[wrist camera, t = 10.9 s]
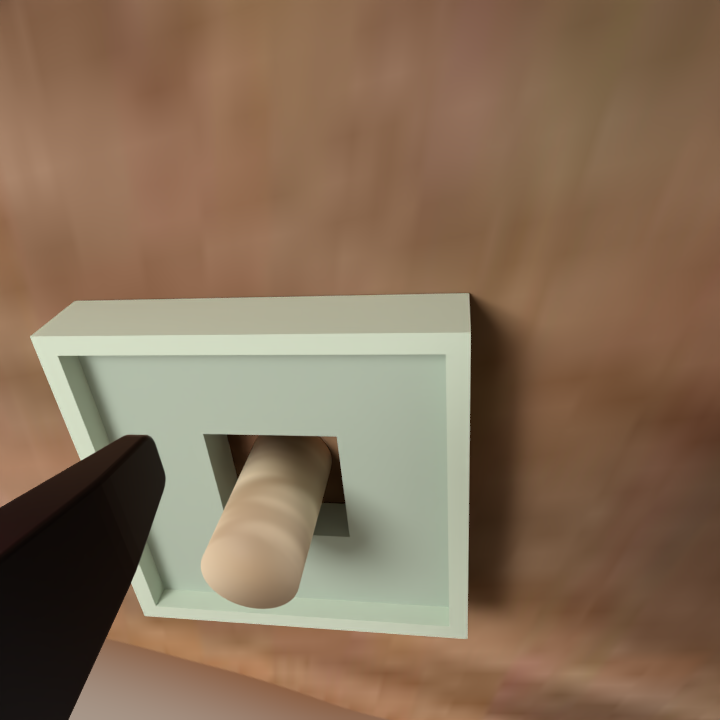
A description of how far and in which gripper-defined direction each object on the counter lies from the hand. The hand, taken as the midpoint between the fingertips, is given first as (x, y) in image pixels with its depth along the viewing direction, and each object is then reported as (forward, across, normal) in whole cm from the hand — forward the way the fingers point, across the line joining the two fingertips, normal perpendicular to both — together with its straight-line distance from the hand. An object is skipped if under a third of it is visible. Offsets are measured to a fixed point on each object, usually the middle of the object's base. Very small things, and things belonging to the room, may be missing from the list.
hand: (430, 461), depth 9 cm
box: (+13, +7, +11) cm, 18 cm away
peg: (+13, +7, +11) cm, 18 cm away
